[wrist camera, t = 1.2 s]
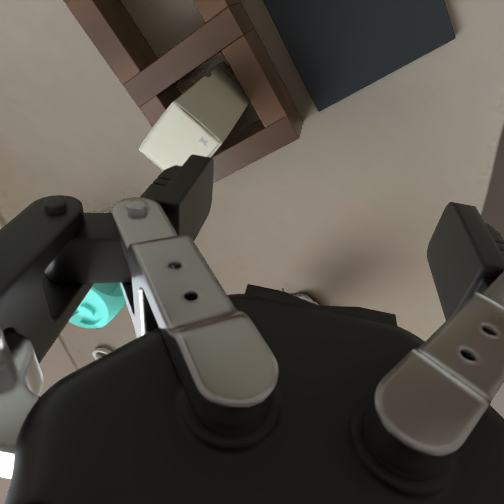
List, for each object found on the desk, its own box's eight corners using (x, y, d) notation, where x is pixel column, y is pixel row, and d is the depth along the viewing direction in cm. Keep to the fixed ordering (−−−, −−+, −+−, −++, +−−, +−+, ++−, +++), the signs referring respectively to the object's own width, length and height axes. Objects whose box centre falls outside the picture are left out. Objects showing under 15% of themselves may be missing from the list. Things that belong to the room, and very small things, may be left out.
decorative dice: (99, 230, 50) (64, 267, 44) (149, 269, 53) (122, 311, 46) (71, 261, 54) (35, 300, 48) (118, 297, 57) (90, 338, 50)
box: (222, 59, 36) (174, 94, 26) (257, 94, 37) (225, 141, 27) (189, 102, 39) (134, 149, 29) (223, 133, 40) (182, 190, 30)
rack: (76, -26, 34) (45, -25, 31) (175, -123, 30) (152, -136, 26) (209, 172, 43) (197, 191, 39) (303, 122, 38) (299, 138, 34)
